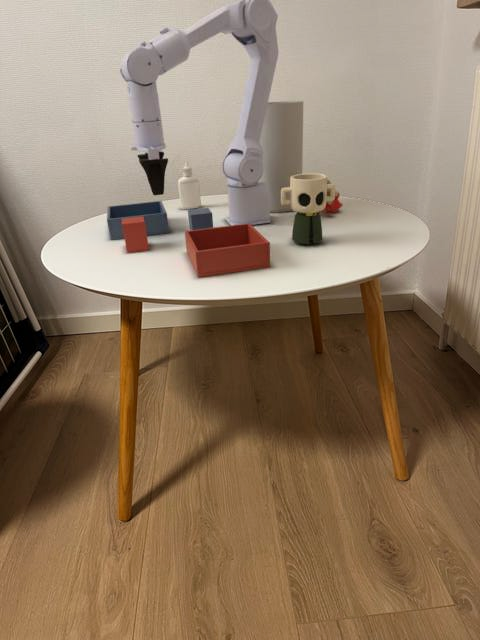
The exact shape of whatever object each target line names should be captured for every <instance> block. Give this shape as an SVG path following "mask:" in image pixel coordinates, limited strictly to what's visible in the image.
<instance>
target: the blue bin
mask: <svg viewBox="0 0 480 640" xmlns="http://www.w3.org/2000/svg"><path fill="white" fill-rule="evenodd" d="M106 210H107V211H106V223H107V228H108V233H109V239H110V240H111V241H114V240H115V241H116V240H121V239H124V233H123V228H122V219H124V218H133V217H141V216H144V221H145V226H146V233H147V236H154V235H155V236H156V235H162V234H163V235H164V234H170V227H169V226H170V225H169V220H168V212H167V211H166V209H165V206H164V203H163V201H162V200H155V201H145V202H137V203H128V204H117V205H109V206H107V209H106Z"/></svg>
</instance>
